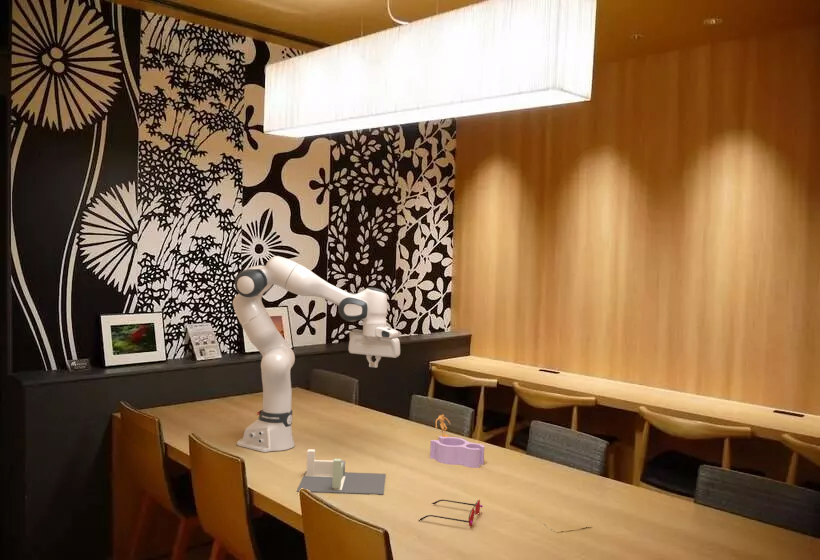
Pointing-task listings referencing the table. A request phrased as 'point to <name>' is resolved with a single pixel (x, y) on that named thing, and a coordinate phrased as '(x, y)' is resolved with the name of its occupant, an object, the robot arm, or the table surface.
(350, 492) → the board
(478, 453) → the lilac double-ring holder
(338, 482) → the gate
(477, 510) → the glasses
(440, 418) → the figurine
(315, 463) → the fixed fence
